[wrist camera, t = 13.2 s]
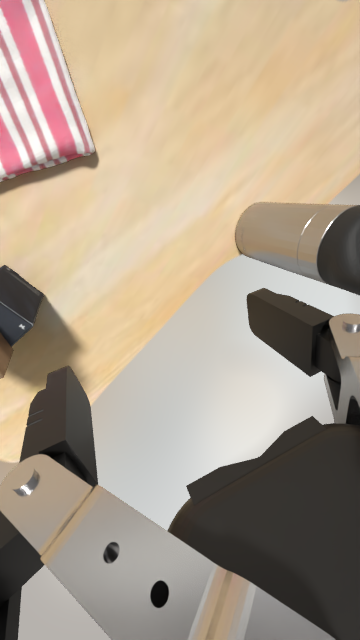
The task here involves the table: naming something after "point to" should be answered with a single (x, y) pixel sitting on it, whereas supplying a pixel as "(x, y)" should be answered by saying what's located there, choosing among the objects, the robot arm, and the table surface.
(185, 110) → the table surface
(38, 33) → the dish towel
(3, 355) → the walnut block
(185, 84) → the table surface
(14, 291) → the small box
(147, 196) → the table surface
